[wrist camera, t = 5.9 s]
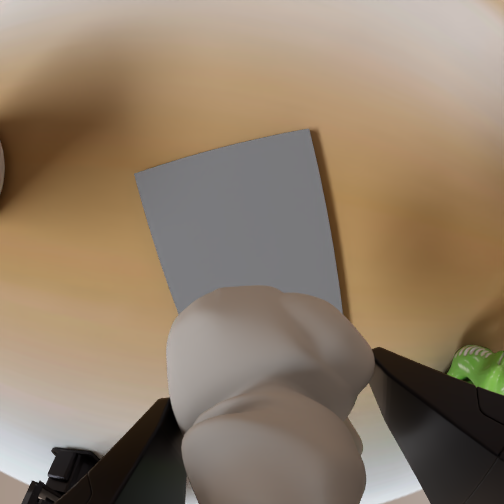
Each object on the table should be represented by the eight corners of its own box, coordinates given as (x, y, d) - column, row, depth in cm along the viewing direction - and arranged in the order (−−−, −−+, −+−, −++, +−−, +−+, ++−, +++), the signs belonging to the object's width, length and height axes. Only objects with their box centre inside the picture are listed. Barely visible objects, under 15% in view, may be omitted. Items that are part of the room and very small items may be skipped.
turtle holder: (495, 279, 20) (589, 337, 9) (483, 400, 25) (532, 458, 13) (386, 346, 21) (469, 457, 9) (401, 452, 26) (439, 526, 14)
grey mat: (343, 338, 20) (346, 343, 19) (205, 372, 20) (204, 377, 19) (306, 129, 16) (309, 128, 15) (137, 173, 16) (134, 173, 16)
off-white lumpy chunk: (264, 217, 8) (444, 519, 1) (379, 353, 10) (494, 526, 2) (137, 331, 9) (39, 563, 1) (267, 431, 11) (295, 609, 3)
